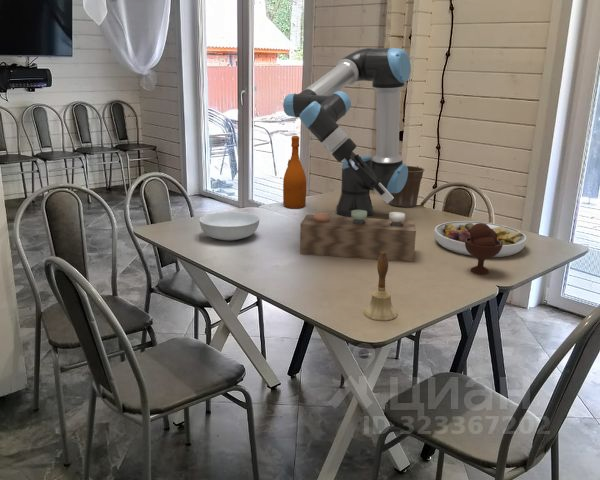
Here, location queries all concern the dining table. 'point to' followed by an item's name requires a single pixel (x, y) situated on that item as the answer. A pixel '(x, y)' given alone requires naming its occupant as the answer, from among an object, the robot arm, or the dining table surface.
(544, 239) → the dining table surface
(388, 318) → the hand bell
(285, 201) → the wine bottle
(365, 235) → the console
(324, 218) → the terracotta button
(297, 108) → the robot arm
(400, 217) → the cream button
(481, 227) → the ice cream bowl
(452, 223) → the bowl
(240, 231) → the serving bowl
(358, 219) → the sage button
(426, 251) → the dining table surface
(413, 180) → the plant pot
